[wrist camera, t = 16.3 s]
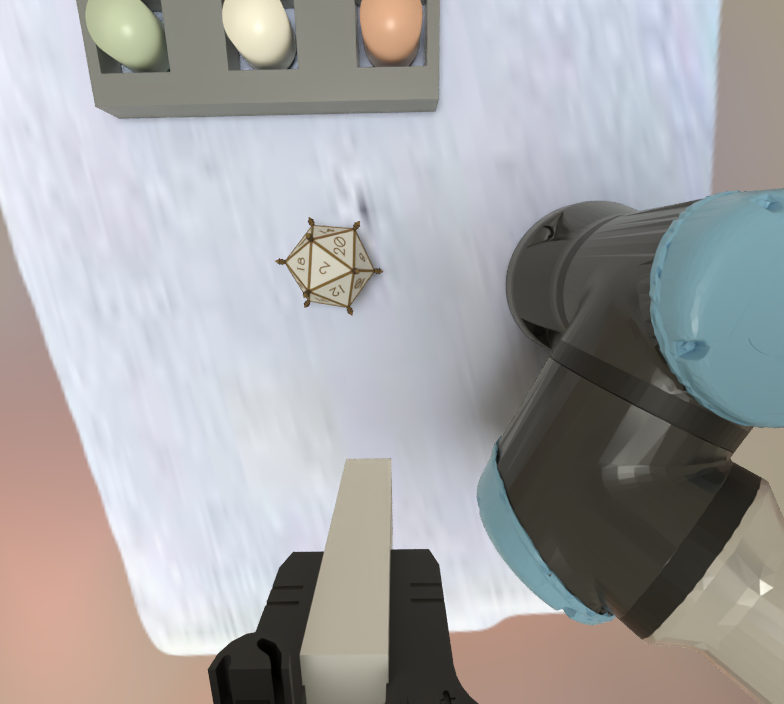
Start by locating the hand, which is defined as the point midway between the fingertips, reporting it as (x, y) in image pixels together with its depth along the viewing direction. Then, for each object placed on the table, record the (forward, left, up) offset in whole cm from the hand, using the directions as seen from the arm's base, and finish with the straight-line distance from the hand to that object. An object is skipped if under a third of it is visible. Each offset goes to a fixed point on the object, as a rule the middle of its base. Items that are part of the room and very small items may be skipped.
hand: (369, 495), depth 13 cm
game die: (+5, -7, -30) cm, 31 cm away
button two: (+21, -26, -29) cm, 44 cm away
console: (+10, -27, -29) cm, 41 cm away
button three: (-1, -26, -29) cm, 39 cm away
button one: (+10, -27, -29) cm, 40 cm away
